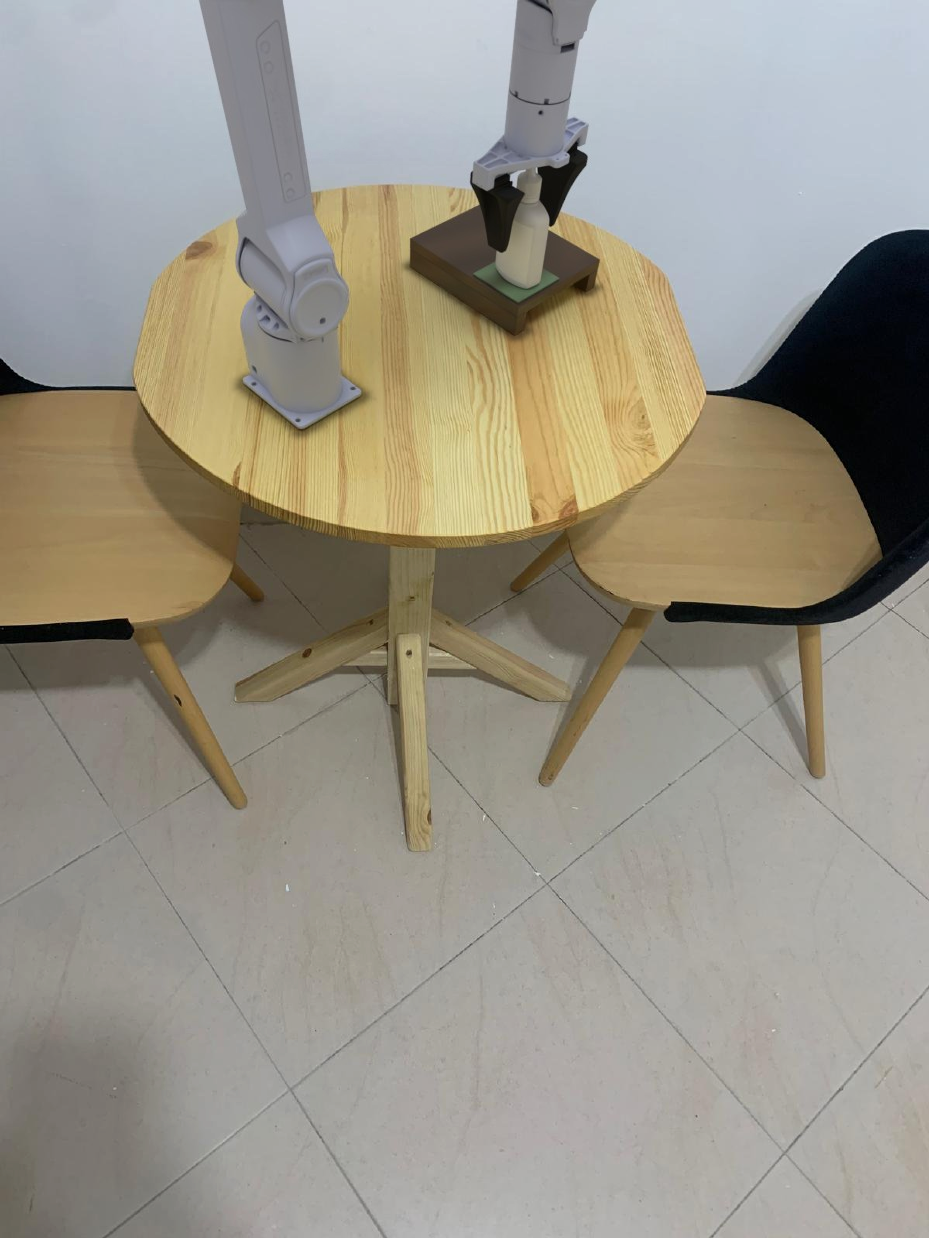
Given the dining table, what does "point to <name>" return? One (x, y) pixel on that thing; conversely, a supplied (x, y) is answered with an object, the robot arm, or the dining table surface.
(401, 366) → the dining table surface
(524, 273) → the eye dropper bottle
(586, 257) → the shelf
